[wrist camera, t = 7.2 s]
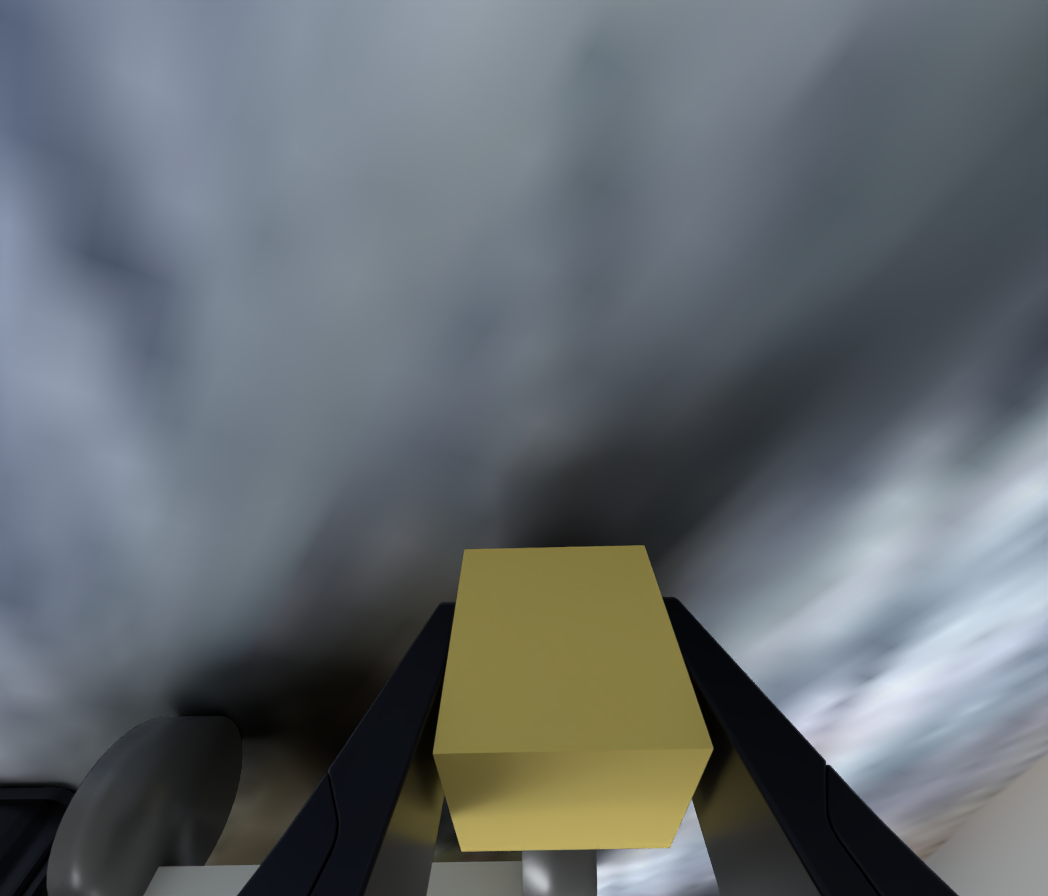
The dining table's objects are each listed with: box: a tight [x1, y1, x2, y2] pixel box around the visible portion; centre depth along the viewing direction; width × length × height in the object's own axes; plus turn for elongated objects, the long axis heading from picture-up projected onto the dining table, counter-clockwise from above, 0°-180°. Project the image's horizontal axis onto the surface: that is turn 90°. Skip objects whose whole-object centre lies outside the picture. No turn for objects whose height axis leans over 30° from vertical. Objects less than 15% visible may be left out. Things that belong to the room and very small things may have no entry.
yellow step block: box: [433, 545, 714, 852], centre depth 9 cm, size 4×6×4 cm, turn 1°
